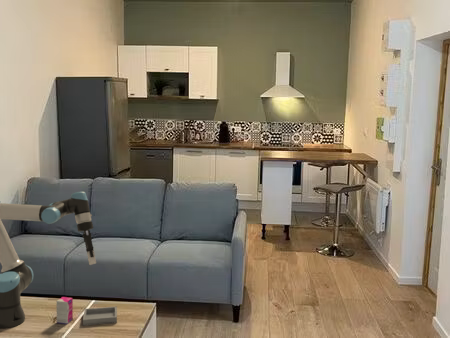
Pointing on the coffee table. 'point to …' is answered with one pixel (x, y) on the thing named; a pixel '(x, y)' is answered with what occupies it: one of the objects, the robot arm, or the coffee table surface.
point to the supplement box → (64, 310)
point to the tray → (100, 316)
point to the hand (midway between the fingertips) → (92, 264)
